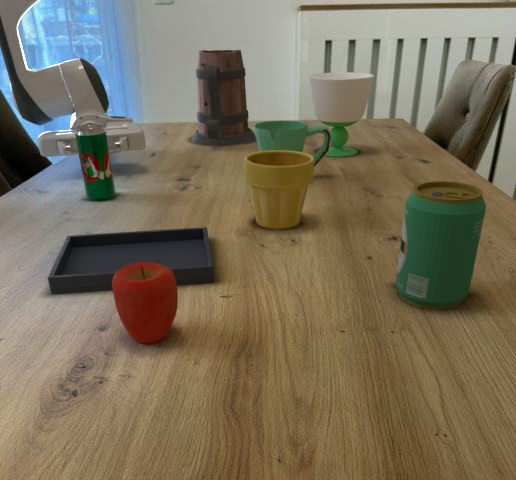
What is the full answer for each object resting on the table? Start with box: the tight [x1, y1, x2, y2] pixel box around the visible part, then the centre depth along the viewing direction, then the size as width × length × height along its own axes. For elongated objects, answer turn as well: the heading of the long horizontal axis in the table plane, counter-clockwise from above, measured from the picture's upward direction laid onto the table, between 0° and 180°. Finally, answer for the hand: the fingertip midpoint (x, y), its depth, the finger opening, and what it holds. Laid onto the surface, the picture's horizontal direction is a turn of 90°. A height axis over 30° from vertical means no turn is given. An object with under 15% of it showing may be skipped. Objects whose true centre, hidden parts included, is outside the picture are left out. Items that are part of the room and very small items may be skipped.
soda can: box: [75, 124, 116, 202], centre depth 95 cm, size 5×5×12 cm
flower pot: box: [243, 150, 315, 230], centre depth 83 cm, size 10×10×10 cm
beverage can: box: [395, 180, 487, 310], centre depth 60 cm, size 8×8×12 cm
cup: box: [309, 71, 375, 158], centre depth 121 cm, size 14×14×16 cm
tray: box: [47, 226, 215, 295], centre depth 71 cm, size 19×14×2 cm
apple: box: [112, 262, 179, 345], centre depth 54 cm, size 6×6×8 cm
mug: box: [253, 120, 331, 168], centre depth 104 cm, size 15×10×10 cm
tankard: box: [190, 49, 257, 147], centre depth 133 cm, size 24×17×20 cm
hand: (93, 149), depth 102 cm, fingers open, 8 cm apart
